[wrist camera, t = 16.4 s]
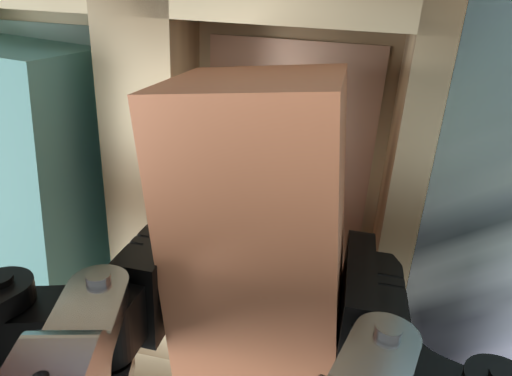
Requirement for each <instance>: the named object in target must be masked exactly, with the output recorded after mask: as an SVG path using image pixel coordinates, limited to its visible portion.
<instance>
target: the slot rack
mask: <svg viewBox="0 0 512 376" xmlns="http://www.w3.org/2000/svg"><path fill="white" fill-rule="evenodd" d="M468 1H469V0H0V33H3V34H10V35H18V36H25V37H32V38H39V39H46V40H53V41H61V42H68V43H75V44H82V45H89V46H91V55H92V66H93V77H94V87H95V98H96V109H97V120H98V130H99V141H100V152H101V163H102V173H103V184H104V195H105V205H106V216H107V227H108V238H109V248H110V259H111V261H112V259H113V258H114V257H115V256H116V255H117V254H118V253H119V252H120V251H121V250H122V249H123V248H124V247H125V246H126V245H127V244H128V243H130V241H131V240H132V239H133V238H134V237H135V236H137V234H138V233H139V232H140V231H141V230H142V229H143V228H144V227H145V225H147V224H148V222H147V216H146V210H145V203H144V197H143V191H142V185H141V178H140V172H139V166H138V160H137V153H136V147H135V141H134V135H133V128H132V122H131V116H130V110H129V103H128V97H127V95H128V94H131V93H133V92H136V91H138V90H141V89H143V88H146V87H149V86H151V85H154V84H156V83H159V82H161V81H164V80H167V79H169V78H172V77H174V76H177V75H179V74H182V73H185V72H187V71H190V70H192V69H195V68H199V67H234V66H268V65H302V64H337V63H347V107H346V152H345V197H344V242H343V265H344V258H345V251H346V245H347V238H348V232H349V230H354V231H361V232H368V233H374V234H375V236H376V251H377V252H384V253H390V254H393V255H394V256H395V257H396V258H397V259H398V261H399V262H400V263H401V264H402V267H403V273H404V280H405V286H406V287H407V282H408V277H409V273H410V268H411V264H412V259H413V254H414V250H415V245H416V240H417V236H418V231H419V227H420V222H421V217H422V213H423V208H424V204H425V199H426V194H427V190H428V185H429V180H430V176H431V171H432V167H433V162H434V157H435V153H436V148H437V144H438V139H439V134H440V130H441V125H442V120H443V116H444V111H445V107H446V102H447V97H448V93H449V88H450V84H451V79H452V74H453V70H454V65H455V61H456V56H457V51H458V47H459V42H460V37H461V33H462V28H463V24H464V19H465V14H466V10H467V5H468ZM406 287H405V289H406ZM135 365H136V366H135V372H134V376H172V372H171V366H170V360H169V354H168V347H167V341H166V335H165V336H164V338H163V339H162V341H161V343H160V345H159V346H158V348H157V350H156V351H155V350H150V349H145V348H140V349H139V351H138V352H137V354H136V355H135Z"/></svg>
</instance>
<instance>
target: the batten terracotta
mask: <svg viewBox="0 0 512 376" xmlns="http://www.w3.org/2000/svg"><path fill="white" fill-rule="evenodd" d="M127 97H128V103H129V110H130V116H131V122H132V128H133V135H134V141H135V147H136V153H137V160H138V166H139V172H140V178H141V185H142V191H143V197H144V203H145V210H146V216H147V222H148V228H149V235H150V241H151V247H152V253H153V260H154V265H157V277H158V291H159V297H160V303H161V310H162V316H163V322H164V328H165V335H166V341H167V347H168V354H169V360H170V366H171V372H172V376H319V375H320V374H323V375H325V376H327V375H328V373H329V371H330V369H331V368H332V366H333V364H334V362H335V360H336V351H337V337H338V324H339V310H340V297H341V283H342V271H343V242H344V197H345V152H346V107H347V63H337V64H302V65H268V66H234V67H199V68H195V69H192V70H190V71H187V72H185V73H182V74H179V75H177V76H174V77H172V78H169V79H167V80H164V81H161V82H159V83H156V84H154V85H151V86H149V87H146V88H143V89H141V90H138V91H136V92H133V93H131V94H128V95H127Z"/></svg>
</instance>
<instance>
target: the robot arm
mask: <svg viewBox="0 0 512 376" xmlns="http://www.w3.org/2000/svg"><path fill="white" fill-rule="evenodd" d="M405 287H406V286H405V280H404V273H403V267H402V264H401V263H400V262H399V261H398V259H397V258H396V257H395V256H394V255H393V254H390V253H384V252H377V251H376V236H375V234H374V233H368V232H361V231H354V230H349V232H348V238H347V245H346V251H345V258H344V265H343V271H342V283H341V297H340V310H339V324H338V337H337V351H336V360H335V362H334V364H333V366H332V368H331V369H330V371H329V373H328V375H327V376H512V360H510V359H508V358H505V357H502V356H498V355H493V354H477V355H473V356H471V357H470V358H468V359H467V360H466V362H465V364H464V365H462V364H459V363H457V362H454V361H452V360H450V359H447V358H445V357H443V356H440V355H438V354H437V353H435V352H433V351H431V350H430V349H429V348H427V347H426V346H425V345H424V344H422V337H421V334H420V333H419V331H418V330H417V329H416V327H415V326H414V325H412V324H411V319H410V313H409V306H408V299H407V293H406V289H405ZM164 336H165V328H164V322H163V316H162V310H161V303H160V297H159V291H158V277H157V265H154V260H153V253H152V247H151V241H150V235H149V228H148V224H147V225H145V227H144V228H143V229H142V230H141V231H140V232H139V233H138V234H137V236H135V237H134V238H133V239H132V240H131V241H130V243H128V244H127V245H126V246H125V247H124V248H123V249H122V250H121V251H120V252H119V253H118V254H117V255H116V256H115V257H114V258H113V259H112V261H111V262H110V263H109V264H99V265H93V266H89V267H86V268H84V269H81V270H79V271H77V272H76V273H75V274H73V275H72V276H71V277H70V279H69V280H68V282H67V284H66V285H49V286H35V280H34V275H33V273H32V272H31V271H30V270H29V269H27V268H24V267H19V266H7V267H0V376H134V372H135V366H136V365H135V355H136V354H137V352H138V351H139V349H140V348H145V349H150V350H155V351H156V350H157V348H158V346H159V345H160V343H161V341H162V339H163V338H164ZM319 376H325V375H323V374H320V375H319Z"/></svg>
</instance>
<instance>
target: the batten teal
mask: <svg viewBox="0 0 512 376" xmlns="http://www.w3.org/2000/svg"><path fill="white" fill-rule="evenodd" d="M110 262H111V259H110V248H109V238H108V227H107V216H106V205H105V195H104V184H103V173H102V163H101V152H100V141H99V130H98V120H97V109H96V98H95V87H94V77H93V66H92V55H91V46H89V45H82V44H75V43H68V42H61V41H53V40H46V39H39V38H32V37H25V36H18V35H10V34H3V33H0V267H7V266H19V267H24V268H27V269H29V270H30V271H31V272H32V273H33V275H34V280H35V286H49V285H66V284H67V282H68V280H69V279H70V277H71V276H72V275H73V274H75V273H76V272H77V271H79V270H81V269H84V268H86V267H89V266H93V265H99V264H109V263H110Z"/></svg>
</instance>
